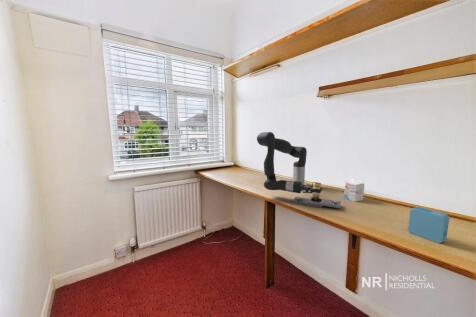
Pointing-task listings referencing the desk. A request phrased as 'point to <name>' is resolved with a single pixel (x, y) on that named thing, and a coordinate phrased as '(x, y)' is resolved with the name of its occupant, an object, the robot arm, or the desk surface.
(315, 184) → the link pin
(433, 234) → the data package
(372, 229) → the desk surface
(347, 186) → the ink box
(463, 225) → the desk surface
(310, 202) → the chain ends
